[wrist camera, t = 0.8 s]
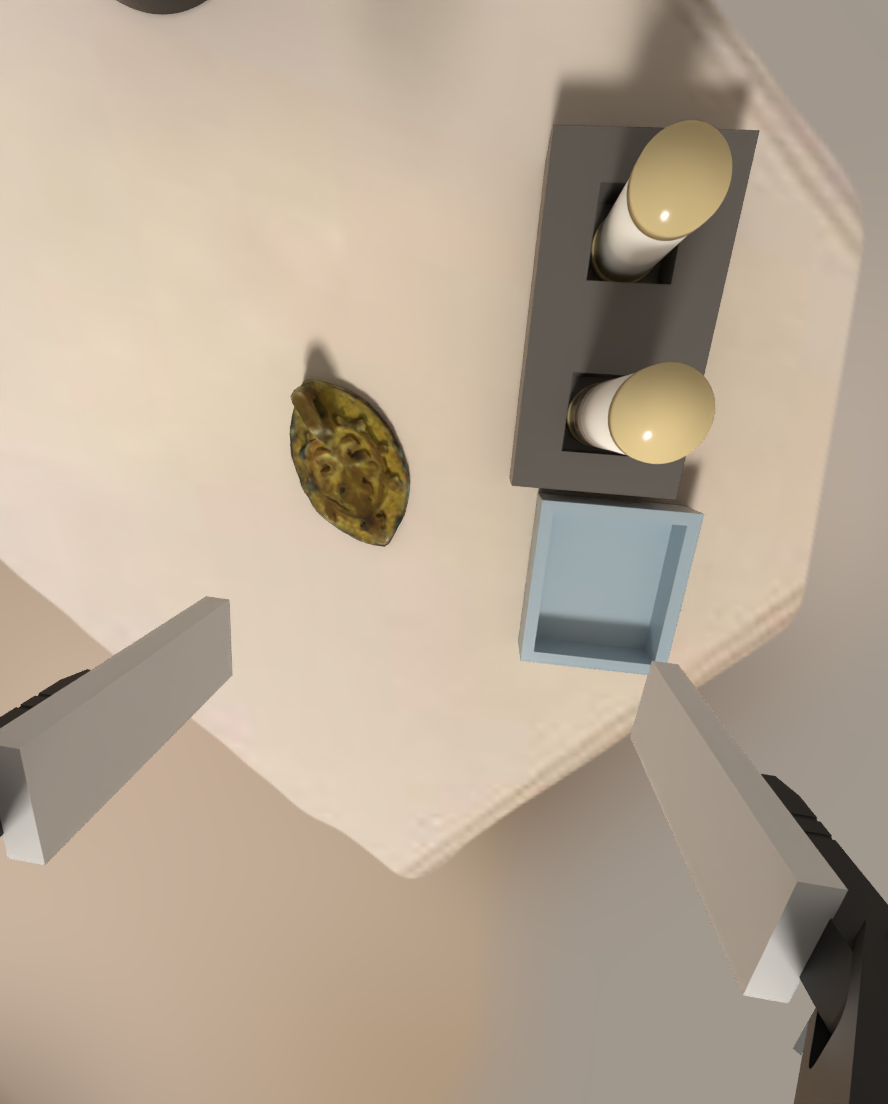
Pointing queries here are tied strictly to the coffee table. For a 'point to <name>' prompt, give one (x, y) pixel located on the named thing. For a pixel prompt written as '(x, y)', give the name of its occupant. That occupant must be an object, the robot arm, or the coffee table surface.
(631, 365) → the fuse holder
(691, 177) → the fuse
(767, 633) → the coffee table surface
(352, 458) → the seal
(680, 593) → the parts tray
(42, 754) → the robot arm
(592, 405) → the cylinder
